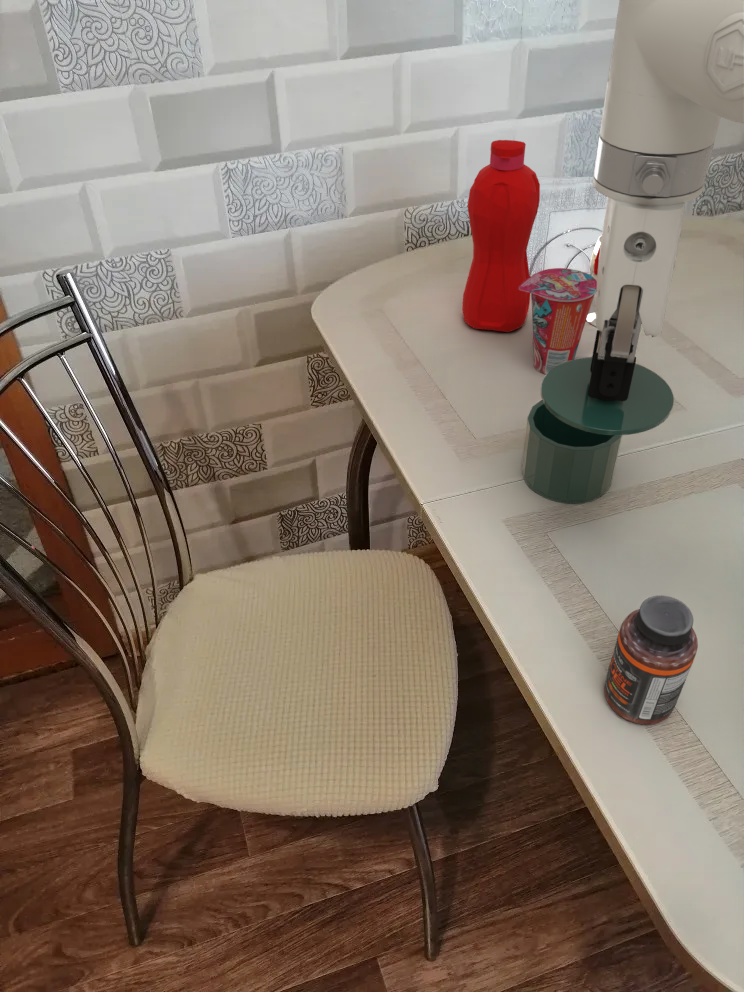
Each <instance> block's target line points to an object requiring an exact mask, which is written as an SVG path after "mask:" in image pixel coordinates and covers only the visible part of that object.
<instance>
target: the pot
mask: <svg viewBox="0 0 744 992" xmlns="http://www.w3.org/2000/svg"><path fill="white" fill-rule="evenodd" d="M525 426H526V427H525V435H524V436H525V437H524V443H523V444H524V445H523V452H522V460H521V461H522V462H521V470H522V471H521V474H522V478H523V480H524V482H525V484H526V485H527V486H528V487H529V488H530V489H531V490H532V491H533V492H534V493H535V494H537V495H539V496H540V497H542V498H545V499H548V500H550V501H553V502H557V503H562V504H585V503H590V502H592V501H595V500H597V499H599V498H601V497H602V496H604V495H605V494H606V493H607V492H608V491H609V490H610V488H611V485H612V483H613V479H614V475H615V471H616V465H617V461H618V457H619V453H620V452H619V451H620V448H621V443H622V440H623V435H604V434H597V433H592V432H588V431H584V430H581V429H578V428H575V427H573V426H571V425H568V424H566V423H565V422H563V421H561V420H560V419H558V418H557V417H555V416H554V415H553V414H552V413H551V412H550V411H549V410H548V409H547V408H546V406H545V405H544V403H543V401H542V399H541V400H540V401H538V402H537V403H536V404H533V406H531V408H530V410H529V412H528V415H527V420H526V425H525Z"/></svg>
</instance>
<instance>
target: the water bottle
mask: <svg viewBox="0 0 744 992" xmlns="http://www.w3.org/2000/svg"><path fill="white" fill-rule="evenodd" d="M526 145H527V144H526V143H525V142H524V141H520V140H513V139H511V140H510V139H498V140H497V139H496V140H493V141H492V142H491V143H490V158H489V164H487V165H485V166H483V167H482V168H481V169H480V170H479V171H478V173H477V175H476V176H475V178H474V181H473V184H472V185H471V187H470V189H469V193H468V200H467V213H468V219H469V226H470V232H471V238H472V246H473V247H472V248H473V250H472V261H471V265H470V268H469V271H468V276H467V279H466V283H465V287H464V291H463V294H462V305H461V306H462V308H461V310H462V316H463V320H464V322H465V324H467V325H468V326H469V327H471V328H473V329H477V330H487V331H495V332H505V333H509V332H512V331H515V330H517V329H519V328H521V327H522V326H523V325H524V324H525V322H526V320H527V318H528V317H527V316H528V312H529V309H530V303H531V293H530V292H526V291H522V290H519V286H520V285H521V284H522V283H523V282H525V281H526V280H527V279H528V278H530V277H531V275H530V269H529V260H528V252H527V250H528V246H529V242H530V239H531V234H532V230H533V227H534V224H535V221H536V218H537V215H538V211H539V207H540V201H541V199H540V198H541V197H540V195H541V184H540V181H539V179H538V176H537V173H536V171H534V170H533V169H532V168H531V167H529V166H528V165H526V164H525V156H526V155H525V154H526Z"/></svg>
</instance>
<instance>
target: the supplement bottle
mask: <svg viewBox="0 0 744 992" xmlns="http://www.w3.org/2000/svg"><path fill="white" fill-rule="evenodd" d="M693 626H694V615H693V612H692V611H691V609H690V608H689V607H688V606H687V604H685V603H684V602H682V600H679V599H677V598H675V597H672V596H669V595H662V594H661V595H653V596H650V597H648V598H646V599H644V601H643V602H641V604H640V607H639V608H638V609H635V610H633V611H632V612H630V613H629V614H628V615H627V616H626V617H625V618H624V620H623V621H622V622H621V625H620V628H619V631H618V635H617V638H616V642H615V644H614V648H613V652H612V655H611V659H610V662H609V666H608V668H607V669H608V670H607V672H606V675H605V681H604V688H603V689H604V696H605V699H606V701H607V704H608V705H609V706H610V708H611V709H612V710H613V711H614V712H615V713H616V714H617V715H618V716H620V717H621V718H623V719H625V720H626V721H628V722H631V723H634V724H638V725H645V726H646V725H648V726H649V725H655V724H658V723H661V722H663V721H665V720H666V719H667V718H668V717H670V715H671V714H672V713H673V711H674V709H675V707H676V706H677V702H678V700H679V697H680V695H681V693H682V690H683V688H684V685H685V683H686V680H687V678H688V676H689V673H690V671H691V668H692V665H693V663H694V661H695V658H696V655H697V652H698V647H699V644H698V643H699V642H698V637H697V634H696V632H695V630H694V627H693Z"/></svg>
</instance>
